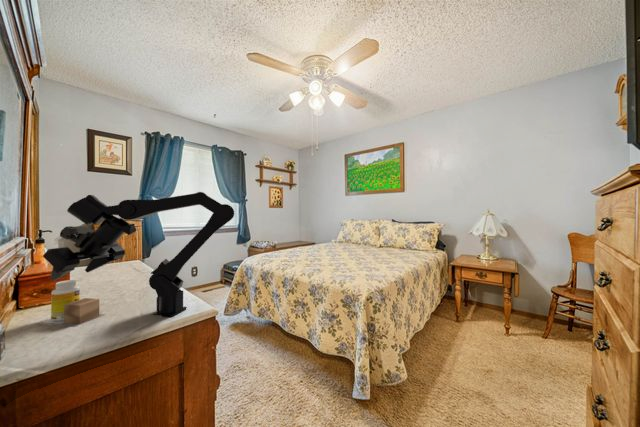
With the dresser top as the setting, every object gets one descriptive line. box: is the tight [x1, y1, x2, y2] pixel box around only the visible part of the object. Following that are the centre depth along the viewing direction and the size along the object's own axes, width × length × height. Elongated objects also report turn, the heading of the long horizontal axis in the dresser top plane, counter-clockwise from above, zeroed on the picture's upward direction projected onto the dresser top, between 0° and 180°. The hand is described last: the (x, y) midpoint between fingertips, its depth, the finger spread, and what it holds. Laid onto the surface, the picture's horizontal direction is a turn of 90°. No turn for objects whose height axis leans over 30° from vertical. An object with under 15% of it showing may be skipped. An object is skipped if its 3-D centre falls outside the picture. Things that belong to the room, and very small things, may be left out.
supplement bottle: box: [50, 279, 81, 321], centre depth 69 cm, size 6×6×10 cm
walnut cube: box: [64, 297, 100, 325], centre depth 68 cm, size 5×5×5 cm
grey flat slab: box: [37, 313, 107, 328], centre depth 68 cm, size 12×8×1 cm, turn 82°
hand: (70, 275), depth 69 cm, fingers open, 9 cm apart
